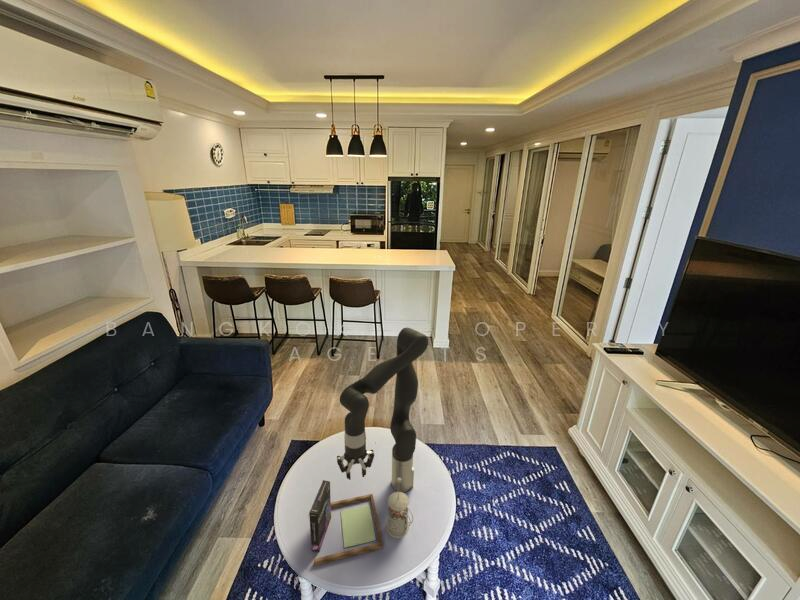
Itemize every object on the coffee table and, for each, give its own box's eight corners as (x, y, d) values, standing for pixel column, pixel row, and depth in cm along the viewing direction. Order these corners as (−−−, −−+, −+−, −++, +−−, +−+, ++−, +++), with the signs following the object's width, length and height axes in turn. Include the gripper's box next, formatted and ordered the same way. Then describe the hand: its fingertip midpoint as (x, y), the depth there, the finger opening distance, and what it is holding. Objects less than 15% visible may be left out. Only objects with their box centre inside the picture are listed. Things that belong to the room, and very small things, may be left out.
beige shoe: (396, 510, 137) (397, 463, 128) (418, 528, 130) (421, 479, 122) (380, 528, 129) (380, 479, 121) (403, 547, 122) (404, 497, 114)
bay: (372, 497, 142) (372, 493, 141) (382, 548, 122) (382, 544, 121) (313, 509, 136) (313, 506, 135) (314, 565, 116) (313, 562, 115)
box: (320, 552, 120) (317, 513, 114) (311, 551, 120) (307, 512, 114) (332, 517, 133) (330, 480, 127) (324, 515, 134) (321, 479, 127)
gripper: (373, 429, 122) (373, 465, 127) (334, 435, 118) (336, 472, 124) (376, 444, 115) (376, 481, 120) (335, 451, 111) (337, 489, 117)
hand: (356, 476), depth 122 cm, fingers open, 4 cm apart
